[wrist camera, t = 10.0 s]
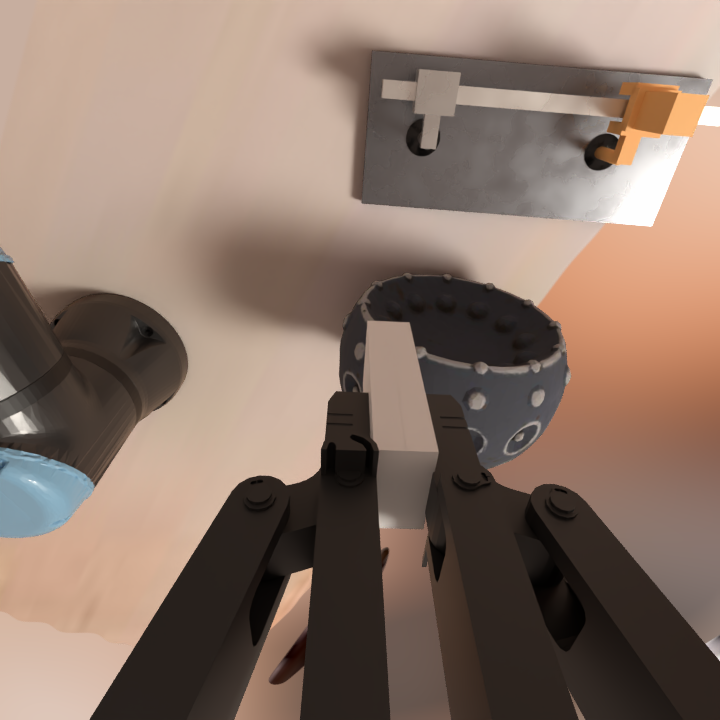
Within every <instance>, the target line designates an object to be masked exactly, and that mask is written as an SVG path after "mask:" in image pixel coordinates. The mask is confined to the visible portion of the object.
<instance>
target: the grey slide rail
mask: <svg viewBox="0 0 720 720" xmlns="http://www.w3.org/2000/svg"><path fill="white" fill-rule="evenodd" d="M460 76H461V73H460V72H448V71H437V70H425V69H418V70H417V72H416V80H415V82H410V81H398V80H386V79H382V90H381V97H382V98H387V99H399V100H411V101H413V106H412V112H413V113H415V114H424V117H423V124H422V132H421V133H419V135H418V137H417V139H418V142H419V143H420V148H423V149H425V150H429V149H436V144H437V138H438V131H439V124H440V117H441V116H451V117H454V113H455V107H456V104H459V105H471V106H483V107H495V108H507V109H519V110H531V111H543V112H555V113H567V114H579V115H592V116H604V117H616V118H623V117H624V114H625V111H626V108H627V105H628V102H629V100H625V99H613V98H601V97H589V96H577V95H565V94H553V93H541V92H529V91H517V90H505V89H493V88H482V87H470V86H459V82H460ZM698 124H700V125H713V126H720V107H707V106H705V107H704V110H703V112H702V114H701V117H700V119H699V121H698Z"/></svg>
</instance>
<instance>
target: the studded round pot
mask: <svg viewBox="0 0 720 720" xmlns="http://www.w3.org/2000/svg"><path fill="white" fill-rule="evenodd" d="M367 321H388V322H410V327H411V331H412V336H413V340H414V345H415V349H416V353H417V358H418V362H419V367H420V371H421V376H422V380H423V384H424V389H425V393H426V394H440V395H451V396H452V397H453V398H454V399H455V400H456V401H457V402H458V403H459V404H460V405H461V407H462V410H463V413H464V416H465V420H466V422H467V425H468V429H469V431H470V434H471V437H472V440H473V444H474V447H475V450H476V453H477V456H478V459H479V462H480V465H481V466H483V467H484V468H485V469H489V468H492V467H495V466H498V465H500V464H503V463H506V462H508V461H511V460H513V459H514V458H516V457H517V456H519V455H520V454H521V453H523V452H524V451H525V450H527V449H528V448H529V447H530V446H531V445H532V444H533V443H534V442H535V441H536V440H537V439H538V438H539V437H540V436H541V435H542V433H543V432H544V431H545V429H546V428H547V426H548V425H549V423H550V421H551V419H552V417H553V416H554V414H555V411H556V410H557V408H558V406H559V403H560V401H561V398H562V396H563V393H564V388H565V386H566V385H567V384H568V382H569V381H570V378H571V373H570V369H569V367H568V365H567V352H566V351H567V350H566V344H565V340H564V338H563V335H562V333H561V324H560V323H559V322H557V321H553V320H552V319H551V318H550V317H549V316H548V315H547V314H545V313H544V312H543V311H541V310H540V309H539V308H537V307H536V306H534V303H533V301H531V300H524V299H522V298H520V297H517V296H515V295H513V294H511V293H508V292H506V291H503V290H501V289H498V288H495V286H494V285H493V284H492V283H487V284H483V283H479V282H474V281H470V280H465V279H460V278H454V277H452V276H451V275H449V274H444V275H442V276H438V275H411V274H410V273H405V274H403V275H402V276H398V277H393V278H390V279H387V280H384V281H377V280H376V281H374V282H373V283H372V284H371V287H370V288H369V289H368V290H367V291H366V292H364V294H363V295H362V296H361V298H360V299H359V300H358V302H357V303H356V304H355V306H354V308H353V310H352V312H351V313H350V314H348V315H347V316H346V317H345V319H344V322H343V329H344V331H343V335H342V338H341V344H340V366H339V378H340V384H341V389H342V392H363V375H364V361H365V347H366V333H367Z"/></svg>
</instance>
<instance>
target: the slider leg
mask: <svg viewBox="0 0 720 720" xmlns="http://www.w3.org/2000/svg"><path fill="white" fill-rule="evenodd" d="M679 87H680V86H675V85H663V84H651V83H640V82H623V83H622V86H621V89H620V92H619V94H620V95H631V96H630V99H629V102H628V105H627V108H626V111H625V114H624V117H623V119H622V122H619V121H610V123H609V126H608V129H607V132H609V133H613V134H617V135H620V136H619V139H618V142H617V145H616V148H615V150H613V149H610V148H606V147H603V146H601V147H598V148H597V149H596V151H595V153H594V155H595V157H596V158H597V159H600V160H603V161H606V162H608V163H611V164H614V165H631V164H632V162H633V159H634V156H635V153H636V151H637V148H638V145H639V143H640V140H641V137H649V138H660V136H661V134H662V135H674V136H686V137H692V136H693V133H694V131H695V129H696V126H697V124H698V121H699V119H700V117H701V114H702V112H703V110H704V107H705V105H706V102H707V100H708V98H709V95H700V94H688V93H681V92H682V91H678V89H679Z"/></svg>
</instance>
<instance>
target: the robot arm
mask: <svg viewBox="0 0 720 720" xmlns="http://www.w3.org/2000/svg"><path fill="white" fill-rule="evenodd" d="M12 263H14V261H13V259H12V258H11V257H10V256H8V255H6V254H5V253H4V251H3V250H2V248H1V247H0V537H5V538H24V537H34V536H39V535H43V534H46V533H49V532H51V531H53V530H55V529H57V528H59V527H61V526H62V525H63V524H65V523H66V522H67V521H68V520H69V519H70V518H71V517H72V515H73V514H74V513H75V511H76V510H77V509H78V508H79V506H80V505H81V504H82V503H83V501H84V500H85V499H87V498H88V497H89V496H90V495H91V494H92V492H93V491H94V488H95V486H96V485H97V483H98V482H99V480H100V479H101V477H102V476H103V474H104V473H105V471H106V470H107V468H108V467H109V465H110V464H111V462H112V461H113V459H114V458H115V456H116V455H117V453H118V452H119V450H120V449H121V447H122V445H123V444H124V442H125V441H126V439H127V438H128V436H129V435H130V433H131V432H132V430H133V429H134V427H135V426H136V424H137V423H138V422H139V421H141V420H142V419H144V418H145V417H147V416H148V415H149V414H150V413H151V412H152V411H155V410H157V409H159V408H161V407H162V406H164V405H165V404H167V403H168V402H169V401H170V400H171V399H172V398H173V397H174V396H175V395H176V393H177V392H178V390H179V388H180V387H181V385H182V384H183V382H184V380H185V378H186V374H187V369H188V359H187V353H186V350H185V347H184V345H183V342H182V340H181V339H180V337H179V335H178V334H177V332H176V331H175V329H174V328H173V327H172V326H171V325H170V324H169V323H168V321H166V320H165V319H164V318H163V317H162V316H161V315H160V314H158V313H157V312H156V311H154V310H153V309H151V308H150V307H148V306H146V305H144V304H142V303H140V302H138V301H136V300H133V299H130V298H127V297H123V296H119V295H113V294H95V295H89V296H85V297H83V298H80V299H78V300H76V301H74V302H73V303H72V304H70V305H69V306H68V307H66V308H65V309H64V310H62V311H61V312H60V313H59V314H58V315H57V316H56V317H55V318H54V319H53V321H52V322H51V324H50V325H49V323H48V321H47V320H46V318H45V317H44V315H43V313H42V312H41V310H40V308H39V307H38V305H37V303H36V302H35V300H34V298H33V297H32V295H31V294H30V292H29V290H28V289H27V287H26V285H25V284H24V282H23V280H22V279H21V277H20V275H19V274H18V272H17V271H16V269H15V267H14V266H13V264H12ZM425 518H426V521H427V527H428V536H427V540H426V545H425V550H424V555H423V561H422V567H426V566H427V561H428V565H429V573H430V579H431V586H432V593H433V599H434V606H435V613H436V620H437V627H438V633H439V640H440V647H441V653H442V660H443V667H444V673H445V681H446V687H447V694H448V701H449V707H450V714H451V720H579V719H578V716H577V714H576V711H575V708H574V705H573V702H572V699H571V696H570V693H569V691H570V692H571V694H572V696H573V698H574V700H575V701H576V703H577V705H578V707H579V709H580V711H581V712H582V714H583V716H584V718H585V720H720V661H719V660H718V658H717V657H716V656H715V655H714V654H713V652H712V651H711V650H710V649H709V648H708V647H707V645H706V644H705V643H704V642H703V641H702V639H701V638H700V637H699V636H698V635H697V633H696V632H695V631H694V630H693V629H692V628H691V626H690V625H689V624H688V623H687V622H686V620H685V619H684V618H683V617H682V616H681V614H680V613H679V612H678V611H677V610H676V608H675V607H674V606H673V605H672V604H671V602H670V601H669V600H668V599H667V598H666V597H665V595H664V594H663V593H662V592H661V591H660V589H659V588H658V587H657V586H656V585H655V583H654V582H653V581H652V580H651V579H650V577H649V576H648V575H647V574H646V573H645V572H644V570H643V569H642V568H641V567H640V566H639V564H638V563H637V562H636V561H635V560H634V558H633V557H632V556H631V555H630V554H629V553H628V551H627V550H626V549H625V548H624V547H623V545H622V544H621V543H620V542H619V541H618V539H617V538H616V537H615V536H614V535H613V534H612V532H611V531H610V530H609V529H608V527H607V526H606V525H605V524H604V523H603V522H602V520H601V519H600V518H599V517H598V516H597V515H596V513H595V512H594V511H593V510H592V508H591V507H590V506H589V505H588V504H587V503H586V501H584V500H583V499H582V498H581V497H580V496H579V495H578V494H577V493H575V492H573V491H571V490H570V489H568V488H566V487H563V486H559V485H555V484H543V485H541V486H538V487H536V488H535V489H534V491H533V492H532V494H531V495H530V494H527V493H523V492H520V491H516V490H513V489H510V488H507V487H504V486H502V485H500V484H498V483H497V482H496V481H495V479H494V478H493V476H492V474H491V473H490V472H489V471H488V470H487V469H485V468H484V467H483V466H481V465H480V462H479V459H478V456H477V453H476V450H475V447H474V444H473V440H472V437H471V434H470V431H469V429H468V425H467V422H466V420H465V416H464V413H463V410H462V407H461V405H460V404H459V403H458V402H457V401H456V400H455V399H454V398H453V397H452V396H451V395H440V394H426V393H425V389H424V384H423V380H422V376H421V371H420V367H419V362H418V358H417V353H416V349H415V345H414V340H413V336H412V331H411V327H410V322H388V321H367V333H366V347H365V361H364V375H363V392H340V391H336V392H335V393H334V395H333V396H332V397H331V398H330V400H329V401H328V411H327V422H326V434H325V441H324V443H323V446H322V448H321V468H320V469H319V471H318V472H317V473H316V474H315V475H314V476H313V477H311V478H309V479H307V480H305V481H302V482H299V483H296V484H292V485H287V486H286V485H285V484H284V483H283V482H282V481H281V480H279V479H277V478H274V477H272V476H256V477H252V478H248V479H246V480H245V481H243V482H241V483H239V484H238V485H237V486H236V487H235V489H234V490H233V491H232V492H231V494H230V495H229V497H228V498H227V500H226V502H225V503H224V505H223V506H222V508H221V510H220V511H219V513H218V514H217V516H216V518H215V519H214V521H213V522H212V524H211V526H210V527H209V529H208V530H207V532H206V534H205V535H204V537H203V539H202V540H201V542H200V543H199V545H198V547H197V548H196V550H195V551H194V553H193V555H192V556H191V558H190V559H189V561H188V563H187V564H186V566H185V567H184V569H183V571H182V572H181V574H180V575H179V577H178V579H177V580H176V582H175V583H174V585H173V587H172V588H171V590H170V591H169V593H168V595H167V596H166V598H165V599H164V601H163V603H162V604H161V606H160V607H159V609H158V611H157V612H156V614H155V615H154V617H153V619H152V620H151V622H150V623H149V625H148V627H147V628H146V630H145V631H144V633H143V635H142V636H141V638H140V640H139V641H138V643H137V644H136V646H135V648H134V649H133V651H132V653H131V654H130V656H129V657H128V659H127V660H126V662H125V664H124V665H123V667H122V668H121V670H120V672H119V673H118V675H117V676H116V678H115V680H114V681H113V683H112V685H111V686H110V688H109V689H108V691H107V692H106V694H105V696H104V697H103V699H102V700H101V702H100V704H99V706H98V707H97V708H96V710H95V712H94V713H93V715H92V716H91V718H90V720H234V719H235V716H236V714H237V711H238V708H239V706H240V703H241V701H242V698H243V696H244V693H245V691H246V688H247V686H248V683H249V680H250V678H251V675H252V673H253V670H254V668H255V665H256V663H257V660H258V658H259V655H260V652H261V650H262V647H263V645H264V642H265V640H266V637H267V635H268V632H269V630H270V627H271V625H272V622H273V620H274V617H275V614H276V612H277V609H278V607H279V604H280V602H281V599H282V597H283V594H284V592H285V589H286V586H287V584H288V581H289V579H290V576H291V574H292V573H295V572H298V571H302V570H305V569H308V568H312V567H313V573H312V584H311V596H310V608H309V620H308V631H307V643H306V655H305V667H304V679H303V691H302V702H301V715H300V720H390V706H389V688H388V671H387V653H386V636H385V618H384V600H383V582H382V565H381V548H380V530H379V528H400V529H423V528H424V523H425ZM567 687H568V688H567ZM568 689H569V691H568Z"/></svg>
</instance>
